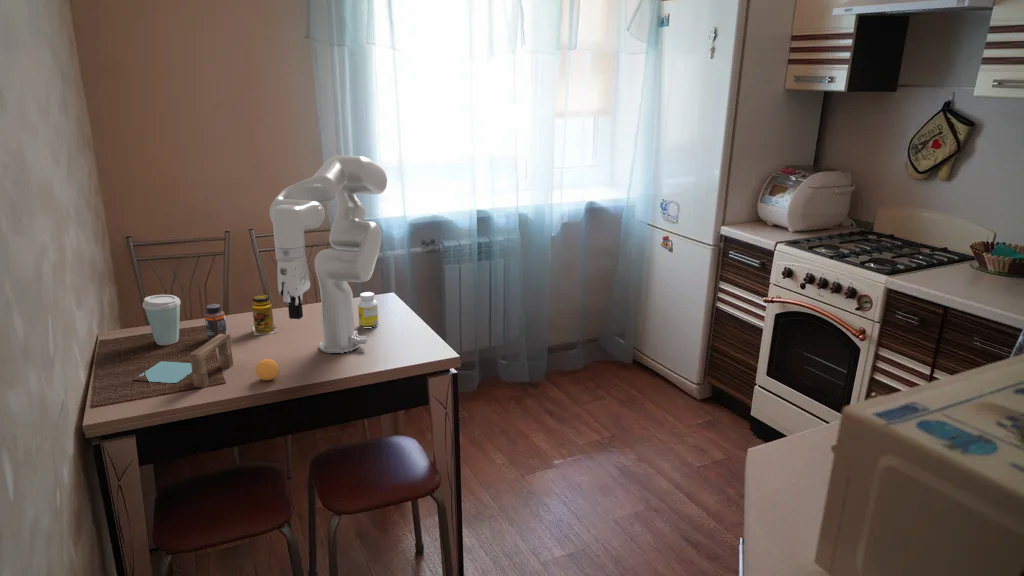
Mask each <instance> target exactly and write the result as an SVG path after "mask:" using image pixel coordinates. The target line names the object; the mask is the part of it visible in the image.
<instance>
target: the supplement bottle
mask: <svg viewBox="0 0 1024 576" xmlns="http://www.w3.org/2000/svg"><path fill="white" fill-rule="evenodd" d="M226 321H227V320H226V314H225V311H224V310H222V309H221V305H220V304H219V303H212V304H209V305H208V304H207V306H206V312H205V314H204V322H205V328H206V336H207V340H208V342H209V341H210V340H212V339H213V338H214V337H216V336H217V335H219V334H228V329H227V322H226Z"/></svg>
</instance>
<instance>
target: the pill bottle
mask: <svg viewBox="0 0 1024 576" xmlns="http://www.w3.org/2000/svg"><path fill="white" fill-rule="evenodd" d="M359 299H360V300H359V301H358V303H357V308H358V309H357V310H358V324H359V327H360V326H361V327H374V326H376V325H378V326H379V312H378V311H379V310H378V309H379V308H378V307H379V306H378V302H377V300H376V299H375V293H374V292H371V291H365V292H361V293H360V294H359ZM361 327H360V328H361Z"/></svg>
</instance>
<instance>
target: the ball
mask: <svg viewBox="0 0 1024 576" xmlns="http://www.w3.org/2000/svg"><path fill="white" fill-rule="evenodd" d="M255 373H256V375H257V377H258V378H259V380H262V381H271V380H273V379H275V378H276V377H277V376H278V374H279V365H278V363H277V362H276V361H275V360H274V359H270V358H265V359H262V360H260V361H259V362H257V364H256V367H255Z"/></svg>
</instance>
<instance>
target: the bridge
mask: <svg viewBox="0 0 1024 576" xmlns="http://www.w3.org/2000/svg"><path fill="white" fill-rule="evenodd" d="M215 349H217V354H218V360H219V368H221V369H222V368H225V369H231V368H232V367H233V366H234V358H233V352H232V343H231V335H230V334H228V333H227V334H219V335H217V336H216V337H214V338H213V339H212V340H210V341H209V340H208V341H207V342H206V343H204V344H202V345H201V346H199V347H198V348H197V349H195V350H194V351H192V352H190V353H189V359H190V363H191V366H192V373H191V374H192V379H193V385H194V386H193V387H194V388H203V389H205V388H206V387H208V386H207V385H208V384H209V375H208V370H207V369H208V368H207V362H206V361H207V360H206V356H207V355H209V354H210V353H212V351H214V350H215Z"/></svg>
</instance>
